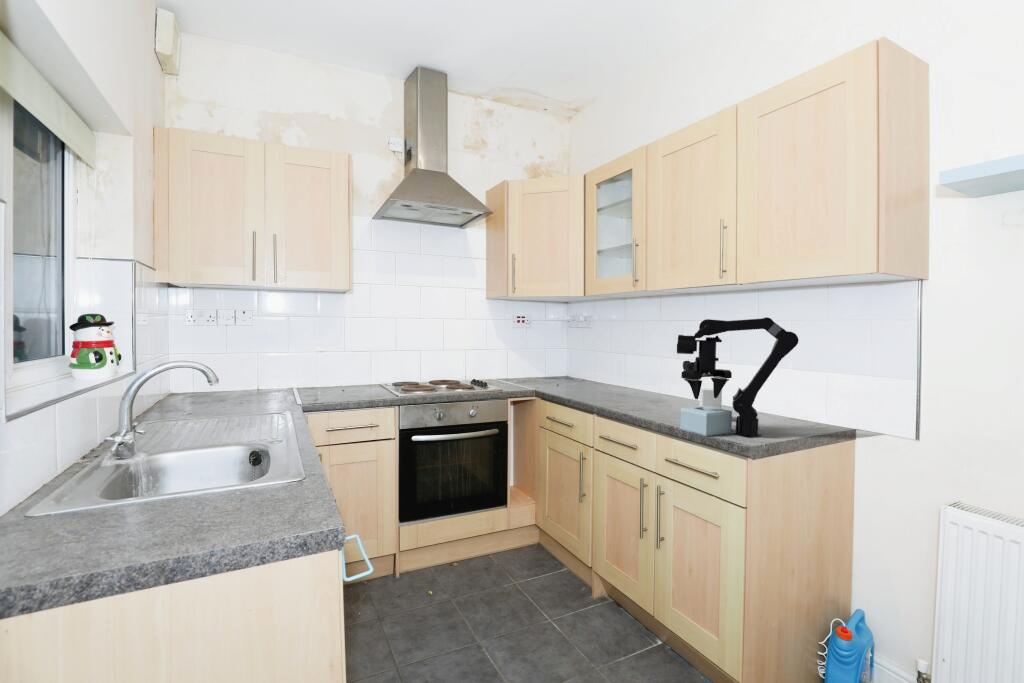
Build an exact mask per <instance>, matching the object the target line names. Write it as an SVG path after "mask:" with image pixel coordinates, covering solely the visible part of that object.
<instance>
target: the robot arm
mask: <svg viewBox="0 0 1024 683" xmlns="http://www.w3.org/2000/svg"><path fill="white" fill-rule="evenodd" d="M752 330H765V331H766V332H767V333H769V335H771V336H772V337H773V338H775V339H776V340H775V342H774V344H773V346H772V350H771V351H770V354H768V356H767V357H766V359H765V361H764V362H763V363H762V365H761V366H760V367H759V369H758V370H757V371H756V373H755V374H754V376H753V377H752V379H751V380H750V382H749V383H748V384H747V386H746V387H744V389H742V388H740V387H738V390H737V392H736V393H735V394H734V395H733V396H732V409H733V410H734V411H735V413H738V415H736V420H735V431H734V432H733V433H732V434H734V435H737V436H740V437H746V438H754V437H761V436H762V434H761V433H759V418H758V415H759V413H758V412H757V409H756V408H754V406H753V404H754V402H755V401H756V400H755V399H756V397H757V395H758V393H759V391H760V390H761V389H762V387H763V386H764V385H765V383H766V382H767V381H768V378H769V377H770V376H771V374H773V372H774V370H775V369H776V368H777V366H778V365H779V363H781V360H783V359H784V357H785V356H787V355H788V354H789V353H790V352H791V351H792V350H793V349H794V348H795V347H797V345H798V344H799V336H798V335H797V334H796V333H795V332H793V331H789V330H786V329H785V328H783V327H782V326H780V325H779V324H777V322H775V321H773V319H772V318H770V317H763V318H753V319H752V318H751V319H750V318H749V319H737V320H720V319H711V318H709V319H708V318H707V319H703V320H702V321H701V322H700V324H699V326H698V330H697V332H695V333H694V335H684V334H678V336H677V343H676V354H677V355H694V353H695V352H698V356H696V357H695V360H694V361H691V360H685V361H683V362H682V369H683V371H681V376H680V377H681V379H683V380H684V381H685V382H687V383H688V384H689V387H690V388H691V391H692V395H693V397H694V399H695V400H699V396H700V389H701V388H702V384H703V380H701V379H702V378H710V379H711V381H712V382H713V387H712V388H713V390H714V398H717V397H718V395H719V394H720V392H721V390H723V388H724V386H725V385H726V384H727V383H728V381H730V379H732V375H733V374H732V372H731V370H730V369H723V368H722V369H720V368H716V365H717V364H716V362H718V361H719V357H717V343H722V342H723V340H722V339H721V338H720V337H719V335H717V334H723V333H726V332H735V331H736V332H737V331H752ZM713 335H715V337H714V336H713ZM704 336H705V339H701V338H703V337H704ZM707 336H708V337H707ZM709 336H710V337H709ZM711 336H713V337H711Z"/></svg>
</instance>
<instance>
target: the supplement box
mask: <svg viewBox="0 0 1024 683" xmlns="http://www.w3.org/2000/svg"><path fill="white" fill-rule="evenodd" d="M722 390H723V389H722ZM722 390H721V392H720V394H719V395H718V397H717V398H714V390H713V387H701V389H700V393H699V397H698V400H699V401H698V402H699V403H698V404H699V405H698V406H709V407H714V408H719V409H722V402H723V401H722V394H723V391H722Z"/></svg>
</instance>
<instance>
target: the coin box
mask: <svg viewBox="0 0 1024 683" xmlns="http://www.w3.org/2000/svg"><path fill="white" fill-rule="evenodd" d="M732 422H733V410H730V409H729V410H728V409H724V408H721V409H719V408H714V407H709V406H699V405H698V406H686V407H680V425H679V427H680V431H684V432H688V433H691V434H695V435H700V436H702V437H706V438H707V437H713V435H715V436H722V434H724V435H732V426H733V424H732Z"/></svg>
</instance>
